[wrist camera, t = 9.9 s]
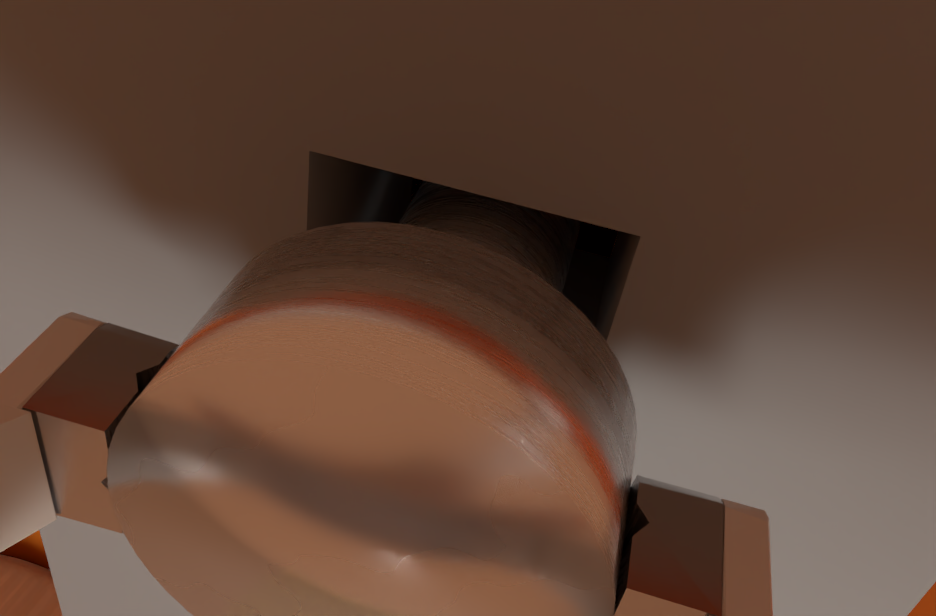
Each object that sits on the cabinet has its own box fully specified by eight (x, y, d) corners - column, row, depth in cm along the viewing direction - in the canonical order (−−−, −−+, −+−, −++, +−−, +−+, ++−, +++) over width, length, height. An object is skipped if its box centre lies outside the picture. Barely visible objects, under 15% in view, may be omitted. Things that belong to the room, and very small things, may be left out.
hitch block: (1141, -96, 13) (1375, 58, 8) (706, 638, 25) (698, 863, 21) (120, -308, 14) (-179, -283, 10) (189, 481, 27) (74, 657, 22)
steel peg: (713, 78, 14) (688, 465, 7) (623, 342, 17) (551, 763, 11) (375, -3, 14) (72, 290, 8) (354, 270, 18) (133, 627, 11)
